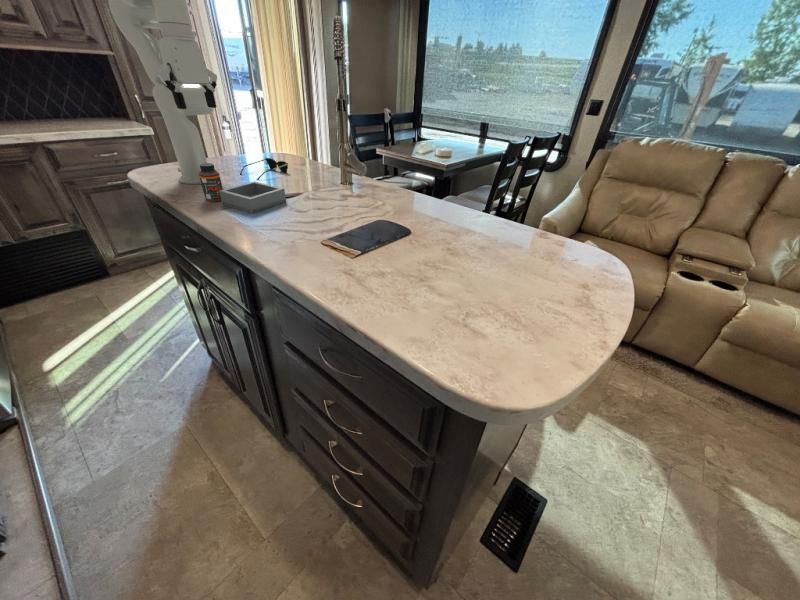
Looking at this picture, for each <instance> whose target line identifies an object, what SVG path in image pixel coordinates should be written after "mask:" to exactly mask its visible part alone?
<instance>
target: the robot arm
mask: <svg viewBox="0 0 800 600" xmlns="http://www.w3.org/2000/svg"><path fill="white" fill-rule="evenodd" d="M107 4H108V7H109V10H110V12H111V13H110V14H111V15H112V18H113V20H114V22H115V24H116V25H117V27H118V29H119V30H120V32H121V33H122V34H123V36H124V37H125V39H126V40H127V41H128V42H129V43H130V45H131V46H132V48H133V49H134V50H135V51H136V53H137V56H138V58H139V59H140V63H141V64H142V67H143V68H144V71H145V73H146V74H147V77H149V79H150V80H151V82H152V83H153V84H154V85H155V86H153V88H152V96H153V99H154V101H155V103H156V105H157V107H158V110H159V112H160V115H161V116H162V118H163V120H164V123H165V126H166V129H167V133H168V135H169V138H170V142H171V145H172V148H173V151H174V155H175V158H176V160H177V163H178V167H177V171H178V172H180V174H181V176H179V177H178V181H179V183H181V184H186V185H187V184H188V185H199V184H200V185H201V181H200V177H199V172H200V171H201V169H200V164H203V163H208V161H207V157H206V154H205V149H204V146H203V143H202V139H201V135H200V132H199V129H198V128H197V126H196V125H195V124H194V123H193V122H192V121H191V120H190V119H189V118H188V117H187V116H205V115H210V114H212V113H213V112H214V110H215V108H216V109H217V103H216V99H215V94H214V93H215V91H216V90H215V89H216V87H217V80H218V75H217V74H216V73H214V72H213V71H211V70H210V69H208V68H207V65H206V61H205V58H204V55H203V52H202V50H201V48H200V45H199V43H198V42H197V41H196V39H195V38H196V37H197V32H196V30H193V25H192V23H191V22H192V21H191V20H190V19H191V18H190V15H189V11H188V8H187V2H186V0H108V3H107ZM146 29H152V30H153V29H154V30H160V34H161V36H162V38H159V40H158V39H157V38H156V37H155V36H154V35H153V34H151V33H150V32H149V31H147V30H146Z"/></svg>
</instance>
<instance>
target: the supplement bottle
mask: <svg viewBox="0 0 800 600" xmlns="http://www.w3.org/2000/svg"><path fill="white" fill-rule="evenodd" d="M200 169H201V171H200V172H199V177H200V181H201V184H200V185H201V186H202V191H203V196H204V198H205V200H206V201H207V202H209V203H210V202H211V203H217V202H222V200H221V196H220V192H219V191H220V190H224V187H223V184H222V179H221V175H220V172H219V171H218V170H216V169H215V165H214V163H210V162H207V163H203V164H200Z"/></svg>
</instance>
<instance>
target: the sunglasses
mask: <svg viewBox="0 0 800 600" xmlns="http://www.w3.org/2000/svg"><path fill="white" fill-rule="evenodd" d="M264 161H266V164H267V165H268V167H269V169H268V170H265V171H264V172H262V174H260V175H259V176H258V177H257V178H256V181H259V180H260V178H262V176H264V175H265V174H266V173H268V172H270V171H273V170H274V171H276V169H279V170H280V172H281V171H282V173H285V172H286V173H285V174H287V173H288V169H289V168H288V167H289V163H288V162H286V161H284V160H280V161H276V160H275V159H273V158H270V157H267V158H264V159H260V160H258V161H255V162H251V163H249V164H246V165H244V166H243V167H241V171H240V173H239V175H241V176H242V173H243V171H244V169H245V167H248V166H251V165H254V164H257V163H260V162H264Z"/></svg>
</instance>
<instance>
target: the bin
mask: <svg viewBox="0 0 800 600" xmlns="http://www.w3.org/2000/svg"><path fill="white" fill-rule="evenodd" d="M219 192H220V196H221V200H222V201H221V203H222V205H223V206H226V207H228V208H229V207H230V208H233V209H236V210H240V211H243V212H248V213H249V214H257V213H259V212H262V211H265V210H268V209H270V207H271V208H272V207H276V206H279V205H281V203H282V204H285V203H287V198H286V192H285V188H284V187H280V186H275V185H271V184H267V183H263V182H259V181H255V180H254V181H250V182H247V183H244V184H239V185H236V186H232V187H228V188H225V189H224V188H223V190H220V191H219ZM278 204H279V205H278ZM275 205H276V206H275Z"/></svg>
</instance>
